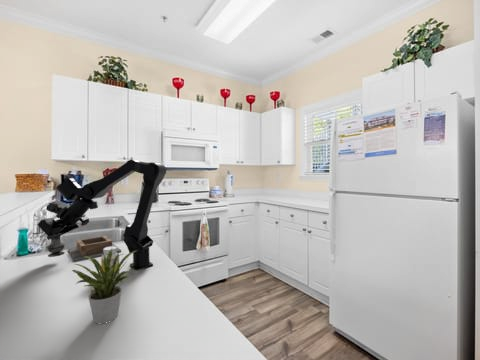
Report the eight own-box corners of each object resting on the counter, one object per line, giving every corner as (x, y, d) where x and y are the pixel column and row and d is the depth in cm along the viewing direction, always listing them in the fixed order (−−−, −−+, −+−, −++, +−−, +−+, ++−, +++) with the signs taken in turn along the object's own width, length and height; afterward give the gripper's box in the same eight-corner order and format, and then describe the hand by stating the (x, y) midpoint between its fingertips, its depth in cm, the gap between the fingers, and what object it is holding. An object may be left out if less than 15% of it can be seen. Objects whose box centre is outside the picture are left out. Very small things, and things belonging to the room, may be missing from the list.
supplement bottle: (117, 278, 80) (117, 249, 80) (99, 280, 79) (99, 251, 78) (120, 271, 86) (120, 244, 85) (103, 273, 84) (103, 246, 84)
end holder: (121, 251, 106) (121, 241, 106) (74, 261, 95) (74, 249, 95) (110, 242, 120) (109, 233, 119) (68, 250, 108) (68, 239, 108)
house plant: (125, 293, 70) (124, 238, 70) (151, 311, 61) (150, 247, 61) (67, 316, 59) (65, 251, 59) (88, 342, 50) (86, 265, 50)
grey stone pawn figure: (58, 257, 91) (56, 225, 90) (42, 257, 91) (41, 225, 90) (69, 251, 97) (68, 222, 96) (54, 251, 97) (53, 222, 96)
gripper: (81, 192, 102) (58, 218, 103) (41, 197, 83) (13, 228, 85) (99, 210, 101) (76, 236, 103) (63, 219, 83) (35, 251, 84)
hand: (52, 237), depth 94 cm, fingers closed on grey stone pawn figure, 3 cm apart
